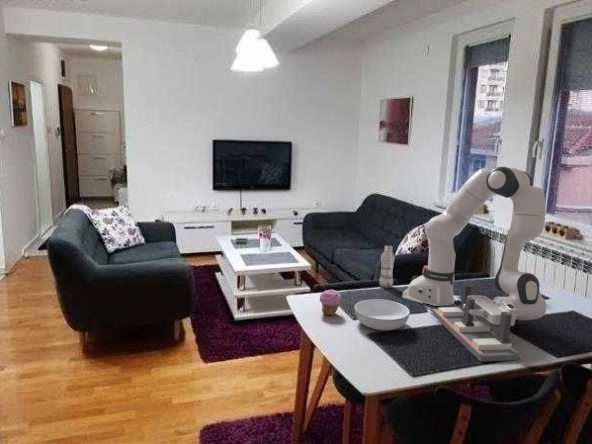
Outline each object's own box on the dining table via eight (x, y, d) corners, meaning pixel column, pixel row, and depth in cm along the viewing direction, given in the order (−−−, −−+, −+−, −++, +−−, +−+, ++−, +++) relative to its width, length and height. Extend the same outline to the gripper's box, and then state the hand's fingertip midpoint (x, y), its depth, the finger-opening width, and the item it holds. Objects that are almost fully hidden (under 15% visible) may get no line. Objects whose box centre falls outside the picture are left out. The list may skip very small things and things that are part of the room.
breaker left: (462, 310, 185) (465, 287, 183) (458, 306, 189) (460, 283, 187) (470, 310, 186) (473, 287, 184) (465, 306, 190) (468, 283, 188)
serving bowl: (409, 318, 187) (410, 302, 186) (406, 340, 167) (408, 322, 166) (357, 311, 192) (358, 295, 191) (349, 332, 173) (350, 314, 171)
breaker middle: (466, 325, 171) (469, 300, 169) (461, 321, 175) (463, 296, 173) (474, 325, 171) (477, 300, 169) (469, 321, 175) (471, 296, 173)
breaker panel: (480, 361, 154) (481, 350, 153) (431, 313, 193) (432, 304, 192) (519, 360, 156) (521, 349, 155) (463, 312, 195) (464, 303, 194)
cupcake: (315, 315, 187) (316, 291, 185) (323, 308, 194) (324, 285, 192) (336, 319, 183) (338, 295, 181) (343, 312, 191) (345, 289, 189)
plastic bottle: (382, 289, 219) (385, 248, 215) (376, 284, 225) (379, 244, 221) (395, 288, 221) (398, 247, 216) (388, 284, 227) (391, 244, 223)
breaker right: (501, 343, 158) (505, 316, 156) (495, 337, 162) (498, 311, 160) (510, 342, 159) (514, 315, 157) (504, 337, 163) (507, 311, 160)
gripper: (488, 290, 183) (454, 291, 181) (518, 311, 163) (481, 311, 161) (486, 305, 184) (453, 306, 183) (516, 328, 165) (479, 328, 163)
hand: (466, 309), depth 172 cm, fingers closed on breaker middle, 3 cm apart
